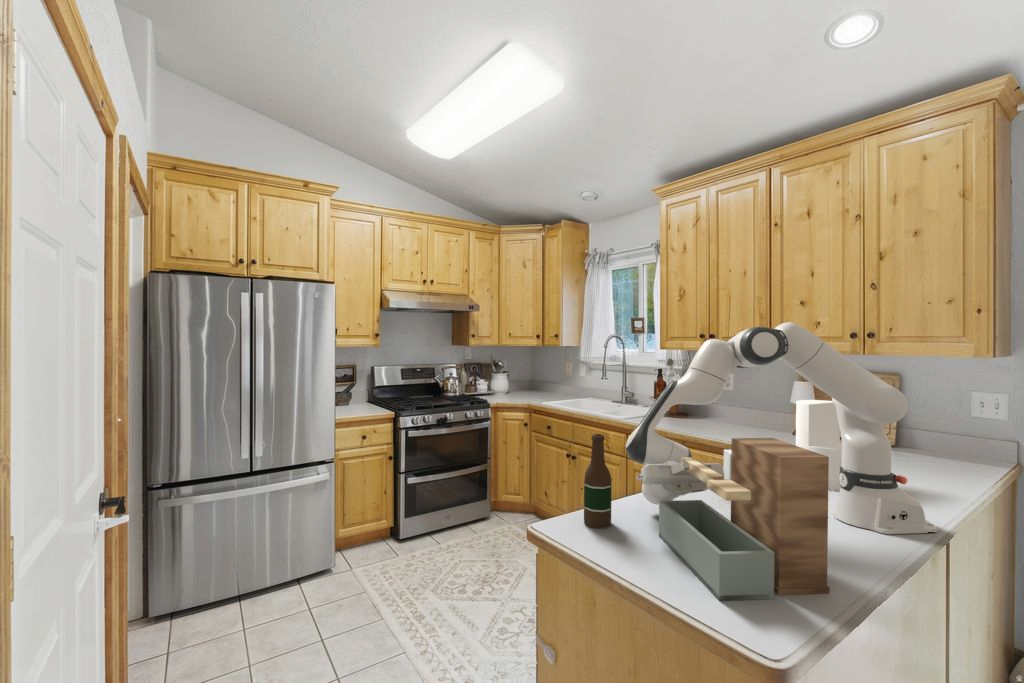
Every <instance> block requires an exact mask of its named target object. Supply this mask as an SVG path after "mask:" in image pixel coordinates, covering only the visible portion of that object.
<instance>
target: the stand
mask: <svg viewBox="0 0 1024 683" xmlns="http://www.w3.org/2000/svg"><path fill="white" fill-rule="evenodd" d="M730 450H731V480H732V481H734V482H736V483H737V484H739V485H741V486H743V487H744V488H746V489H748V490H750V491H751V500H735V501H730V521H731V522H733V523H734V524H735V525H737V526H738V527H740V528H741V529H742V530H744V531H745V532H746V533H748V534H749V535H751V536H752V537H753V538H755V539H756V540H758V541H759V542H760V543H762V544H763V545H765V546H766V547H767V548H769V549H770V550H772V551H773V552H774V594H776V595H778V596H795V595H796V596H797V595H800V596H801V595H819V594H820V595H823V594H824V595H825V594H827V595H828V594H830V592H831V590H830V589H831V587H830V586H828V545H829V544H828V541H829V540H828V538H829V536H828V534H829V490H828V474H829V457H828V456H825V455H822V454H819V453H816V452H813V451H810V450H807V449H804V448H801V447H798V446H796V444H792V443H788V442H787V441H783V440H780V439H776V438H774V437H740V438H739V437H738V438H737V437H731V448H730Z"/></svg>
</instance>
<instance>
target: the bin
mask: <svg viewBox="0 0 1024 683" xmlns="http://www.w3.org/2000/svg"><path fill="white" fill-rule="evenodd" d="M658 506H659V507H658V509H659V511H658V517H659V518H658V537H659V538H660V539H661V540H662V541H663V542H664V544H665V545H666V546H667V547H668V546H669V549H670V550H671V551H672V552H673V553H674V554H675V555H676V557H677V558H678V559H679V560H681V562H682V563H683V564H684V565H685V566H686V567H687V568H688V569H689V570H690V571H691V572H692V573H693V575H694V576H695V577H697V579H698V580H699V581H700V582H701V584H703V585H704V587H706V589H707V590H708V591H709V592H710V593H711V594H712V595H713V596H714V597H715V599H716V600H718V601H719V602H726V601H727V602H728V601H751V600H752V601H753V600H755V601H756V600H774V599H775V592H774V552H773V551H772V550H770V549H769V548H767V547H766V546H765V545H763V544H762V543H760V542H759V541H758V540H756V539H755V538H753V537H752V536H751V535H749V534H748V533H746V532H745V531H744V530H742V529H741V528H740V527H738V526H737V525H735V524H734V523H733V522H731V519H728V518H727V517H726V516H724V515H723V514H721V513H720V512H719V511H717V510H716V509H714V508H713V507H712V506H710V505H709V504H707V503H706V502H704V501H703V500H701V499H692V500H691V499H690V500H689V499H687V500H683V499H682V500H681V499H679V500H672V501H659V505H658Z"/></svg>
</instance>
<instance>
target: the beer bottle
mask: <svg viewBox="0 0 1024 683" xmlns="http://www.w3.org/2000/svg"><path fill="white" fill-rule="evenodd" d="M604 441H605V435H604V434H600V433H595V434H592V435H591V442H592V444H591V458H590V464H589V465H588V466H587V468H586V470H585V472H584V479H583V480H584V481H583V482H584V483H583V524H584V525H585V526H587V527H589V528H591V529H601V530H603V529H605V528H609V527H611V525H612V477H611V473H610V472H611V471H610V469H609V468H608V466H607V465H606V461H605V460H606V459H605V442H604Z"/></svg>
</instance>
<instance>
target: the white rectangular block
mask: <svg viewBox="0 0 1024 683" xmlns="http://www.w3.org/2000/svg"><path fill="white" fill-rule="evenodd" d="M795 404H796V405H795V406H796V407H795V408H796V409H795V410H796V411H795V446H798V447H801V448H804V449H807V450H810V451H813V452H816V453H819V454H822V455H825V456H828V457H829V474H828V491H832V490H836V491H837V492H840V482H839V473H840V466H842V441H841V439H840V438H841V432H840V427H839V422H838V417H837V412H836V407H835V405H834V403H833V401H832V400H825V399H824V400H822V399H800V400H799V399H798V400H796V401H795ZM836 491H835V492H836Z"/></svg>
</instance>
